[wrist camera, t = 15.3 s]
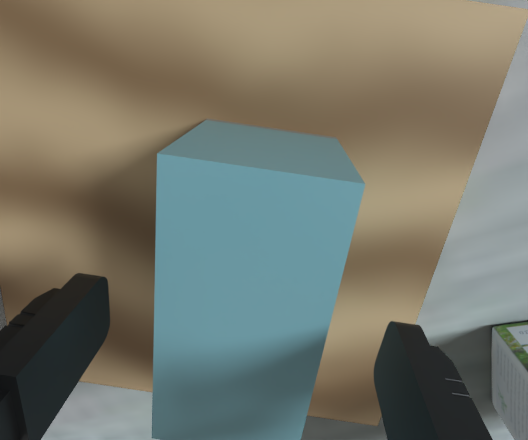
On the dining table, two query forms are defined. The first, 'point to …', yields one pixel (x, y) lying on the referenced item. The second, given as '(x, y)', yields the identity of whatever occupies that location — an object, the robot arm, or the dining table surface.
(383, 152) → the oak board
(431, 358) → the robot arm
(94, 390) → the dining table surface
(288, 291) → the block
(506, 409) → the syrup box
